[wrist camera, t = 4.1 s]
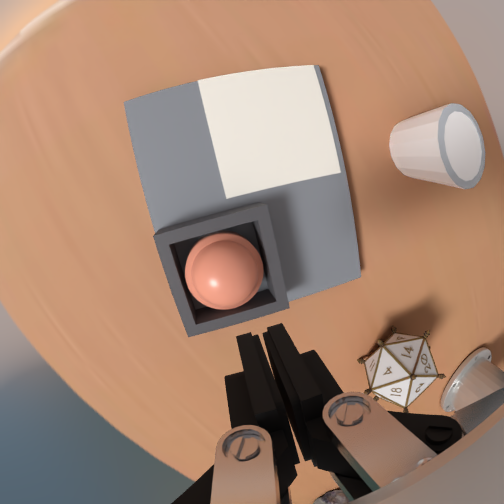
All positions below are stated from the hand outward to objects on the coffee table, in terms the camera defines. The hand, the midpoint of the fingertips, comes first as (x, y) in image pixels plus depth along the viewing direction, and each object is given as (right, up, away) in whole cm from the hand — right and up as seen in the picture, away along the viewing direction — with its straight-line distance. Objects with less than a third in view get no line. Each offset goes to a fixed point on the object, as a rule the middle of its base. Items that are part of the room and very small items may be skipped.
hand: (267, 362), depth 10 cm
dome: (-3, +3, +11) cm, 11 cm away
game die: (+13, -7, +18) cm, 23 cm away
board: (-1, +8, +11) cm, 14 cm away
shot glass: (+14, +14, +13) cm, 24 cm away
